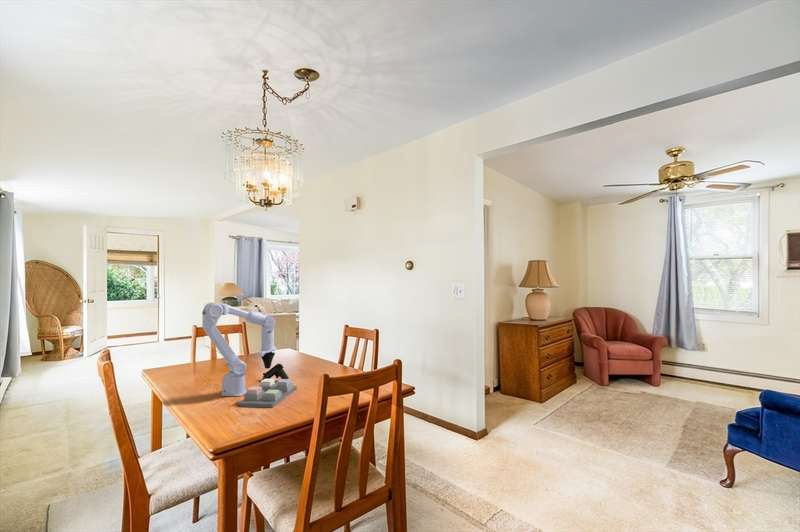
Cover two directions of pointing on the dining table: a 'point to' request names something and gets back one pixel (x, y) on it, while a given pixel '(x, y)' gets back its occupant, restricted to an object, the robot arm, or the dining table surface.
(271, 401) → the control console
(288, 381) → the slate button
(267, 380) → the cream button
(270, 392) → the sage button
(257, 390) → the rose button
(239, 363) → the robot arm
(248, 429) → the dining table surface
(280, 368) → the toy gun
